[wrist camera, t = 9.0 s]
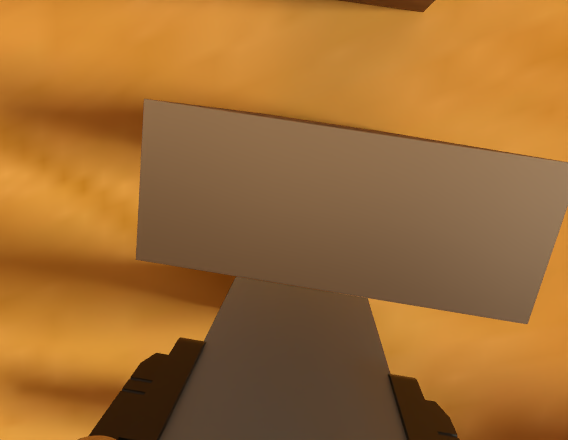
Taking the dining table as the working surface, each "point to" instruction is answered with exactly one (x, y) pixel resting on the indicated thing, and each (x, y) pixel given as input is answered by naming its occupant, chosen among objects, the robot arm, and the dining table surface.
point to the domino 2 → (288, 370)
